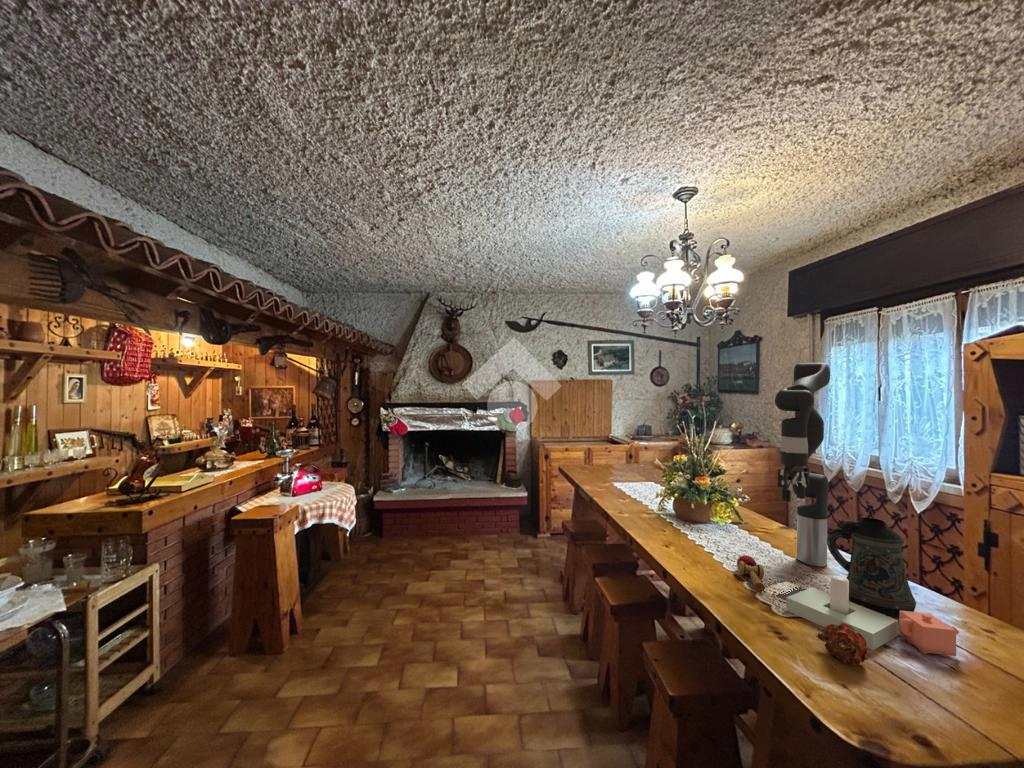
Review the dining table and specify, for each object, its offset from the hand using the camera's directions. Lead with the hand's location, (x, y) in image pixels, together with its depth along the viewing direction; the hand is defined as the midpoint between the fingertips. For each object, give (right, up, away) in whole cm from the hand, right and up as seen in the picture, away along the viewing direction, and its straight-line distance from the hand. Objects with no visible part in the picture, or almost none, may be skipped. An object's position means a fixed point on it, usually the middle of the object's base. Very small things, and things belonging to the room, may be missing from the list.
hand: (793, 499), depth 134 cm
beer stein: (+16, -29, -11) cm, 34 cm away
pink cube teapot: (+11, -28, -33) cm, 45 cm away
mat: (-5, -28, -5) cm, 29 cm away
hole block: (-3, -28, -22) cm, 35 cm away
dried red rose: (-14, -27, -37) cm, 48 cm away
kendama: (-12, -28, +2) cm, 31 cm away
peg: (-3, -28, -22) cm, 35 cm away
